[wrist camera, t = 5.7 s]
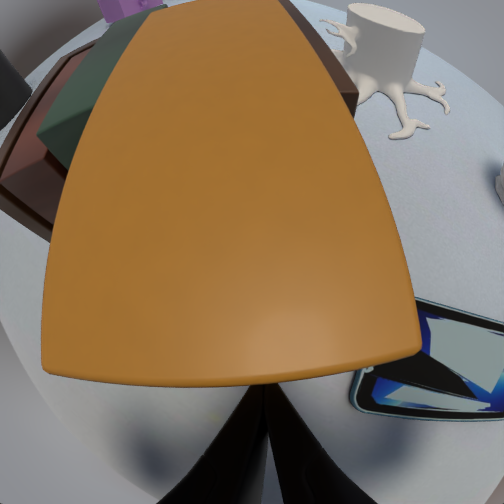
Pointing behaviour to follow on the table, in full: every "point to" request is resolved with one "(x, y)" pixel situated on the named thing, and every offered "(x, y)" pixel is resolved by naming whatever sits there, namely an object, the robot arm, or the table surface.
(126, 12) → the teapot
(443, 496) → the table surface
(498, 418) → the smartphone
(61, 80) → the bookshelf
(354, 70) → the tree stump
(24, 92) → the vase
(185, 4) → the ochre book
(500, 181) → the cup
